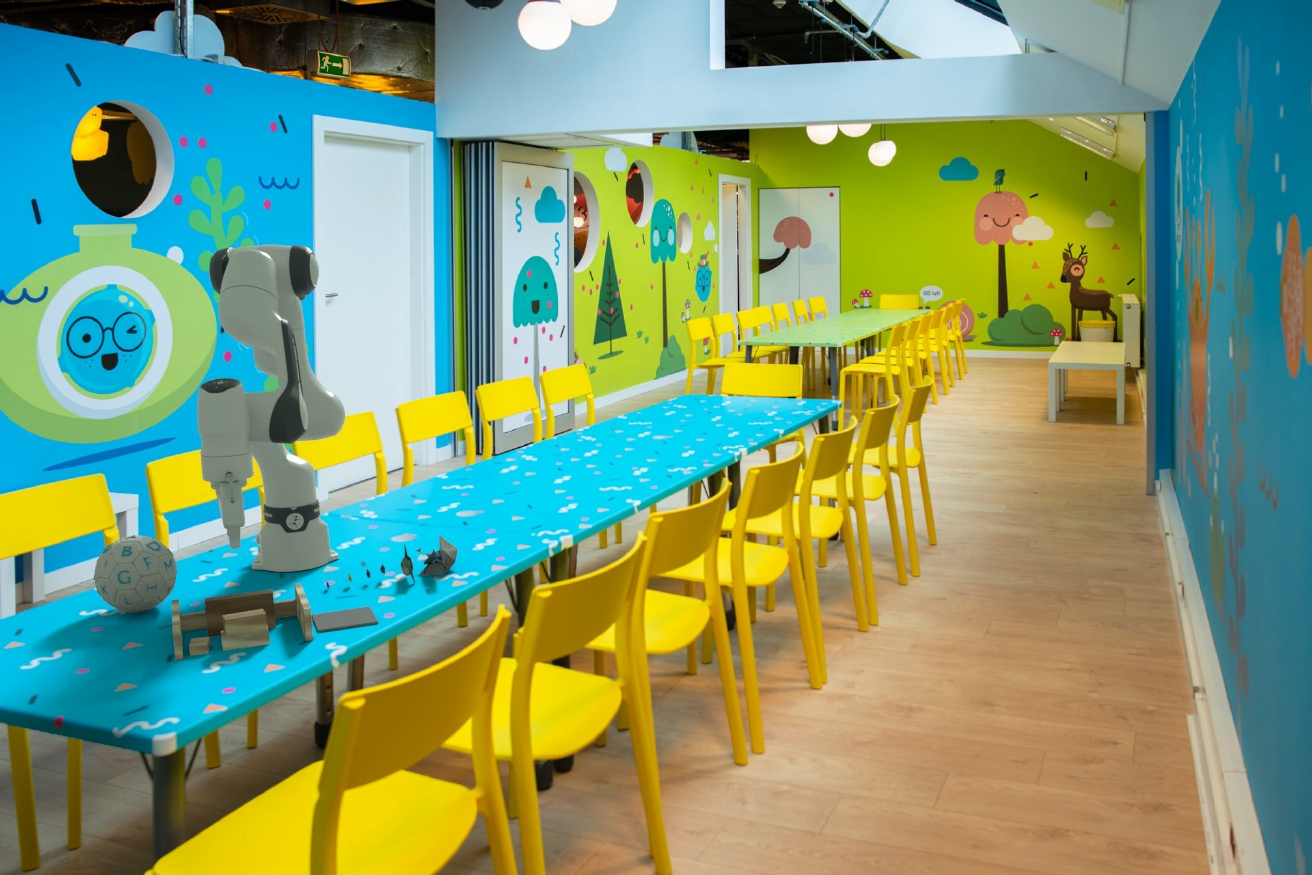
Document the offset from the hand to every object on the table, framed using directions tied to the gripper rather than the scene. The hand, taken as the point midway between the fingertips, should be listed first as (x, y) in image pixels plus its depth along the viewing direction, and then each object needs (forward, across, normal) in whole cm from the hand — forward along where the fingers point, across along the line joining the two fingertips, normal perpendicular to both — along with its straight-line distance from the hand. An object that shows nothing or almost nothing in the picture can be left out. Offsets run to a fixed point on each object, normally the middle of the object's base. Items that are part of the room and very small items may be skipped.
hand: (233, 541), depth 212 cm
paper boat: (+17, +24, -42) cm, 52 cm away
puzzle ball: (+17, +23, +18) cm, 34 cm away
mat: (+17, -2, -19) cm, 25 cm away
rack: (+17, -3, 0) cm, 17 cm away
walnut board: (+17, 0, 0) cm, 17 cm away
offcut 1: (+18, -8, +7) cm, 21 cm away
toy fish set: (+17, +17, -31) cm, 39 cm away
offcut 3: (+18, -8, 0) cm, 19 cm away
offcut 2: (+14, -8, 0) cm, 17 cm away
